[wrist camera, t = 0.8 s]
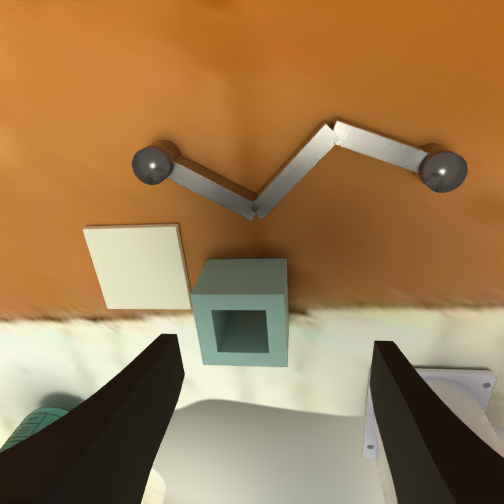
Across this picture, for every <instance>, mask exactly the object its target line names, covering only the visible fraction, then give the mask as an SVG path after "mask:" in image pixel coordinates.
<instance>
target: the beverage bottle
mask: <svg viewBox="0 0 504 504" xmlns="http://www.w3.org/2000/svg"><path fill="white" fill-rule="evenodd" d="M67 413H68V411H66V410H63V409H59V408H53V407H44V408H39V409H36V410H34V411H33V412H32V413H30V414H29V415H28V416H27V417H26V418H25V419H24V420H23V421H22V423H21V424H20V425H19V427H17V428H16V430H15V432H13V434H12V435H11V436H10V437H9V439H8V441H6V442H5V444H4V445H3V446H2V448H1V449H0V452H2V451H4V450H6V449H8V448H10V447H12V446H14V445H15V444H17V443H19V442H21V441H23V440H25V439H26V438H28V437H30V436H32V435H33V434H35V433H37V432H38V431H40V430H42V429H43V428H45V427H47V426H48V425H50V424H51V423H53V422H54V421H56V420H58V419H59V418H61V417H62V416H64V415H65V414H67Z"/></svg>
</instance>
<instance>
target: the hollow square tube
mask: <svg viewBox="0 0 504 504" xmlns="http://www.w3.org/2000/svg"><path fill="white" fill-rule="evenodd" d="M190 295H191V301H192V306H193V312H194V317H195V322H196V328H197V333H198V339H199V344H200V349H201V355H202V360H203V365H231V366H266V367H287V365H288V339H289V309H288V283H287V258H267V259H207V261H206V263H205V265H204V267H203V270H202V272H201V274H200V276H199V278H198V280H197V282H196V284H195V286H194V288H193V290H192V292H191V294H190ZM230 310H266V311H230Z"/></svg>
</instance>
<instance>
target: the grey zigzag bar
mask: <svg viewBox="0 0 504 504" xmlns="http://www.w3.org/2000/svg"><path fill="white" fill-rule="evenodd" d="M335 144H336V145H339V146H342V147H345V148H348V149H351V150H353V151H356V152H359V153H362V154H365V155H368V156H371V157H374V158H377V159H379V160H382V161H385V162H388V163H391V164H394V165H397V166H400V167H402V168H405V169H408V170H411V171H412V172H413V174H414V175H415V176H416V177H418V178H419V179H420V180H421V181H422V182H423V183H424V184H425V185H427V186H428V187H429V188H430V189H431V190H433V191H435V192H439V193H445V192H449V191H452V190H454V189H456V188H457V187H459V186H460V185H461V184H462V183H463V181H464V180H465V178H466V175H467V171H468V167H467V163H466V161H465V160H464V159H463V158H462V157H461V156H459V155H457V154H456V153H454V152H452V151H450V150H448V149H446V148H444V147H442V146H440V145H437V144H427V145H424V146H422V147H421V148H420V147H417V146H414V145H411V144H409V143H406V142H403V141H400V140H397V139H394V138H391V137H389V136H386V135H383V134H380V133H377V132H374V131H371V130H368V129H366V128H363V127H360V126H357V125H354V124H351V123H348V122H346V121H343V120H340V119H337V118H334V120H333V122H332V125H331V127H330V126H329V125H328V124H327V123H326V122H325V121H323V122H322V123H321V124H320V125H319V126H318V127H317V128H316V130H315V131H314V132H313V133H312V134H311V135H310V136H309V137H308V138H307V139H306V140H305V142H304V143H303V144H302V145H301V146H300V147H299V148H298V149H297V150H296V151H295V153H294V154H293V155H292V156H291V157H290V158H289V159H288V160H287V161H286V162H285V163H284V165H283V166H282V167H281V168H280V169H279V170H278V171H277V172H276V173H275V174H274V175H273V177H272V178H271V179H270V180H269V181H268V182H267V183H266V184H265V185H264V186H263V188H262V189H261V190H260V191H259V192H258V193H257V194H254V193H252V192H250V191H248V190H247V189H245V188H243V187H241V186H239V185H237V184H235V183H233V182H231V181H229V180H227V179H225V178H224V177H222V176H220V175H218V174H216V173H214V172H212V171H210V170H208V169H206V168H204V167H202V166H201V165H199V164H197V163H195V162H193V161H191V160H189V159H187V158H185V157H183V156H181V153H180V151H179V149H178V148H177V147H176V146H175V145H174V144H173V143H171V142H169V141H165V140H162V141H158V142H156V143H154V144H152V145H150V146H148V147H146V148H144V149H142V150H140V151H138V152H137V153H136V154H135V155H134V157H133V160H132V168H133V171H134V173H135V175H136V176H137V178H138V179H139V180H140V181H142V182H144V183H146V184H149V185H156V184H159V183H161V182H162V181H163V180H165V179H166V178H168V179H170V180H172V181H174V182H176V183H178V184H180V185H182V186H184V187H186V188H188V189H190V190H192V191H194V192H196V193H198V194H200V195H202V196H203V197H205V198H207V199H209V200H211V201H213V202H215V203H217V204H219V205H221V206H223V207H225V208H227V209H229V210H231V211H233V212H235V213H237V214H239V215H241V216H243V217H245V218H247V219H248V220H250V221H253V219H254V217H255V215H257V216H259V217H260V218H261V219H262V220H263V218H264V217H265V216H266V215H267V214H268V213H269V212H270V211H271V210H272V209H273V208H274V207H275V206H276V205H277V204H278V203H279V202H280V201H281V200H282V199H283V198H284V197H285V196H286V195H287V194H288V193H289V192H290V190H291V189H292V188H293V187H294V186H295V185H296V184H297V183H298V182H299V181H300V180H301V179H302V178H303V177H304V176H305V175H306V174H307V173H308V172H309V171H310V170H311V169H312V168H313V167H314V166H315V165H316V164H317V162H318V161H319V160H320V159H321V158H322V157H323V156H324V155H325V154H326V153H327V152H328V151H329V150H330V149H331V148H332V147H333V146H334V145H335Z"/></svg>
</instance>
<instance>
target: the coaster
mask: <svg viewBox="0 0 504 504" xmlns="http://www.w3.org/2000/svg"><path fill="white" fill-rule="evenodd" d="M83 232H84V235H85V238H86V242H87V245H88V248H89V251H90V254H91V257H92V261H93V264H94V267H95V270H96V273H97V276H98V280H99V283H100V286H101V289H102V292H103V295H104V298H105V302H106V305H107V308H108V309H191V308H192V301H191V295H190V294H191V291H190V286H189V281H188V275H187V270H186V264H185V259H184V253H183V248H182V243H181V237H180V232H179V226H178V224H145V225H111V226H87V227H85V228H84V229H83Z"/></svg>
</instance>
